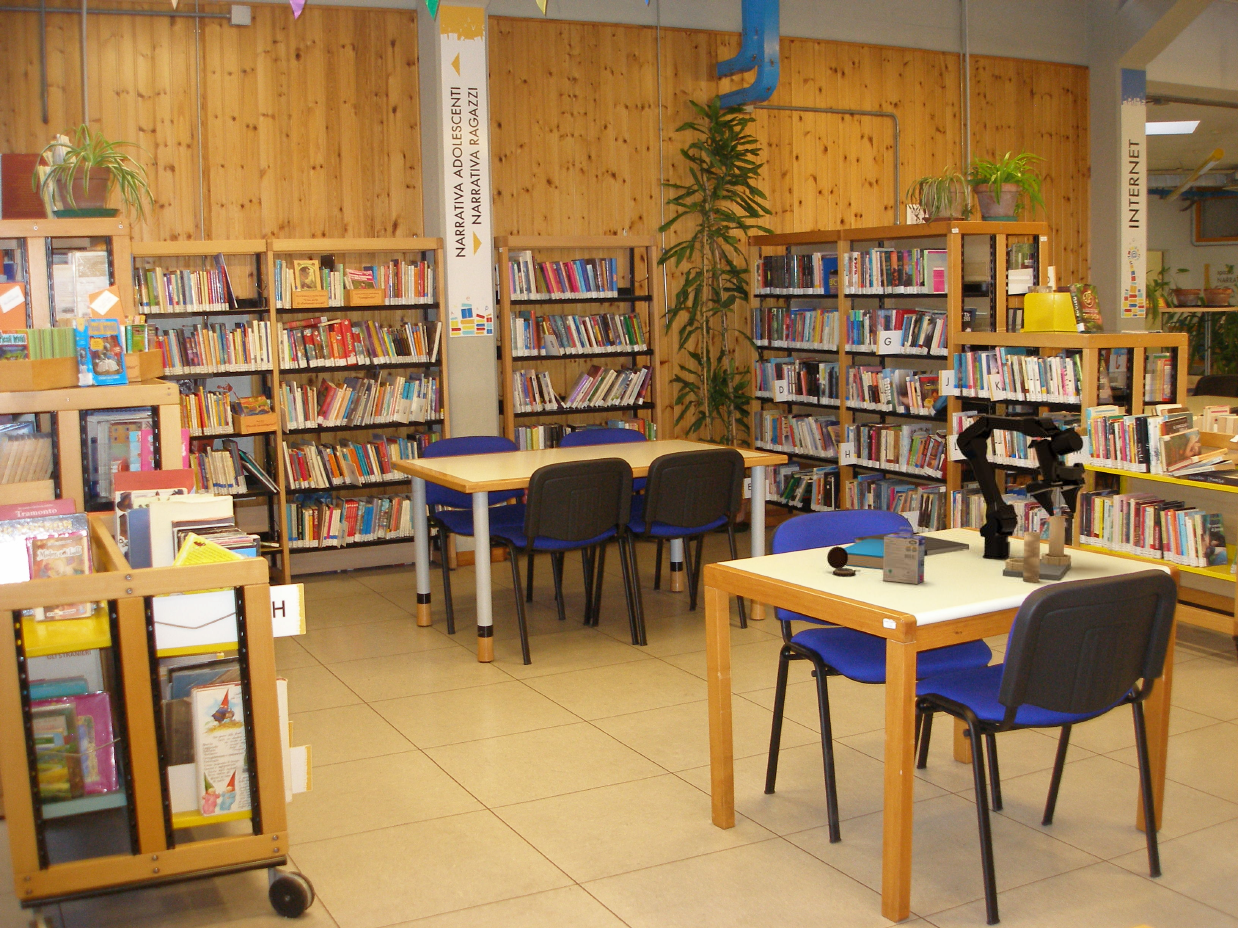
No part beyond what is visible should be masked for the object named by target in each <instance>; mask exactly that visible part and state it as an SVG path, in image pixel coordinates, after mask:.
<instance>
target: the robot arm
mask: <svg viewBox="0 0 1238 928" xmlns="http://www.w3.org/2000/svg"><path fill="white" fill-rule="evenodd" d="M994 430H999V431H1005V432H1006V431H1007V432H1017V433H1019V434H1021V435H1023V436H1027V437H1029V438H1032V439H1031V440H1030V442H1029V444H1028V446H1027V447H1026V448H1027V450H1031V449H1034V451H1035V455H1036V459H1037V462H1038V466H1036V471H1040V474H1041V478H1042V479H1038V480H1035V481H1031V482H1028V483H1026V485H1025V487H1024V489H1025V492H1026V495H1030V497H1032V498H1033V499H1034V500H1035V501H1036V502H1037V503H1038V504H1039V505H1040V506H1041V507H1042V508H1043V510H1044V511H1045V512H1046V513H1047V515H1049V517H1050V516H1055V511H1054V505H1053V501H1052V500H1053V499H1052V494H1053V492H1054V489H1055V488H1059V489H1060V490H1061V491H1060V494H1061V496H1062V497H1063V499H1064V503H1065V504H1066V506H1067V508H1068V510H1069V511H1070V513H1071V514H1075V513H1077V503H1078V495H1079V492H1080V490H1081V489H1083V488H1084V485H1086V484H1087V483H1086V480H1085V479H1086V478H1085V477H1084V476H1083V475H1084V474H1085V473H1086V468H1085V466H1084V464H1083V462H1074V463H1073V465H1066V462H1065V461H1064V460H1061V458H1060V456H1061V457H1063V456H1066V455H1067V456H1068V455H1070V454H1074V453H1077V452H1080V451H1082V449H1083V448H1084V440H1083V438H1082V436H1081V435H1080V434H1079V432H1078V431H1076V429H1075V427H1073V426H1072V427H1071V426H1070V427H1066V428H1064V429H1063V430H1062V429H1061V428H1060V427H1059V426H1058V425H1057V424H1055V422H1054V420H1053V419H1052V417H1050V416H1036V417H1035V416H1034V417H1033V416H1032V417H1025V418H1021V417H1020V418H1019V417H1011V416H1010V417H1008V416H999V415H998V416H997V415H993V414H985V415H984V414H983V415H980V417H978V418H977V419H976V420H975V421H974V422H973V423H971V424H970V425H968V426H967V427H965V429H964V430H962V431H960V432H959V433H958V435H957V437H956V439H955V443H956V446H957V448H958V449H959V451H960V453H961V455H963V457H965V459H966V460H968V462H969V463H970V465H971V468H972V471H973V473H974V477H975V478H976V481H977V483H978V487H979V489H980V492H981V496H982V497H983V500H984V503H985V505H986V510H985V520H986V521H985V523H984V524H983V525H982V526H981V527H980V528H979V535H980V537H982V538H984V544H983V545H984V547H983V549H984V550H983V555H982V558H984V559H985V558H986V559H996V560H1007V558H1010V555H1011V541H1009V537H1013V536H1014V533H1015V530H1016V528H1017V526H1018V524H1019V521H1018V520H1019V519H1018V517H1019V515H1018V514H1017V512H1016V510H1015V506H1014V504H1013V503H1009V504H1007V503H1006V502H1005V501H1004V499H1003V497H1002V493H1001V491H1000V488H999V485H998V483H997V481H996V477H995V475H994V473H993V471H992V470H993V469H992V467H991V464H990V462H989V459H988V458H987V453H988V449H989V445H988V440H989V439H990V438H991V437H992V434H993V431H994ZM1036 438H1037V439H1036ZM1038 438H1039V439H1038ZM1049 438H1050V439H1049Z"/></svg>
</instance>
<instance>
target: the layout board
mask: <svg viewBox="0 0 1238 928" xmlns="http://www.w3.org/2000/svg"><path fill="white" fill-rule="evenodd" d="M1065 528H1066V516H1063V515H1054V516H1050V515H1049V529H1048V530H1049V531H1048V532H1049V533H1048V552H1047V553H1046V552H1045V553H1044V552H1043V553H1042V554H1041V555H1040V556H1041V558H1040V561H1039V580H1046V581H1047V580H1049V581H1056V582H1057V581H1058V582H1059V581H1060V580H1062V578H1063V576H1064V575H1065V574H1067V572H1068V571H1069V570H1070V568H1071V567H1072V561H1071V560H1072V556H1071V555H1069V554H1066V553H1065V533H1066V532H1065ZM1023 562H1024V556H1017V557H1016V558H1008V559H1007V558H1006V559H1005V568H1003V569H1002V576H1003V577H1014V578H1023Z"/></svg>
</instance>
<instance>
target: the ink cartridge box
mask: <svg viewBox="0 0 1238 928" xmlns="http://www.w3.org/2000/svg"><path fill="white" fill-rule="evenodd" d="M902 530H907V531H902ZM908 531H909V532H908ZM897 532H898V535H894V534H889V535H887V536H885V537H884V558H883V568H882V569H883V570H882V581H886V582H888V581H889V582H897V583H905V584H914V585H918V584H921V583H923V582H925V556H924V553H925V537H924V536H925V535H922V536H912V534H913V527H912V526H903V525H901V526H899V530H898V531H897Z"/></svg>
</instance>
